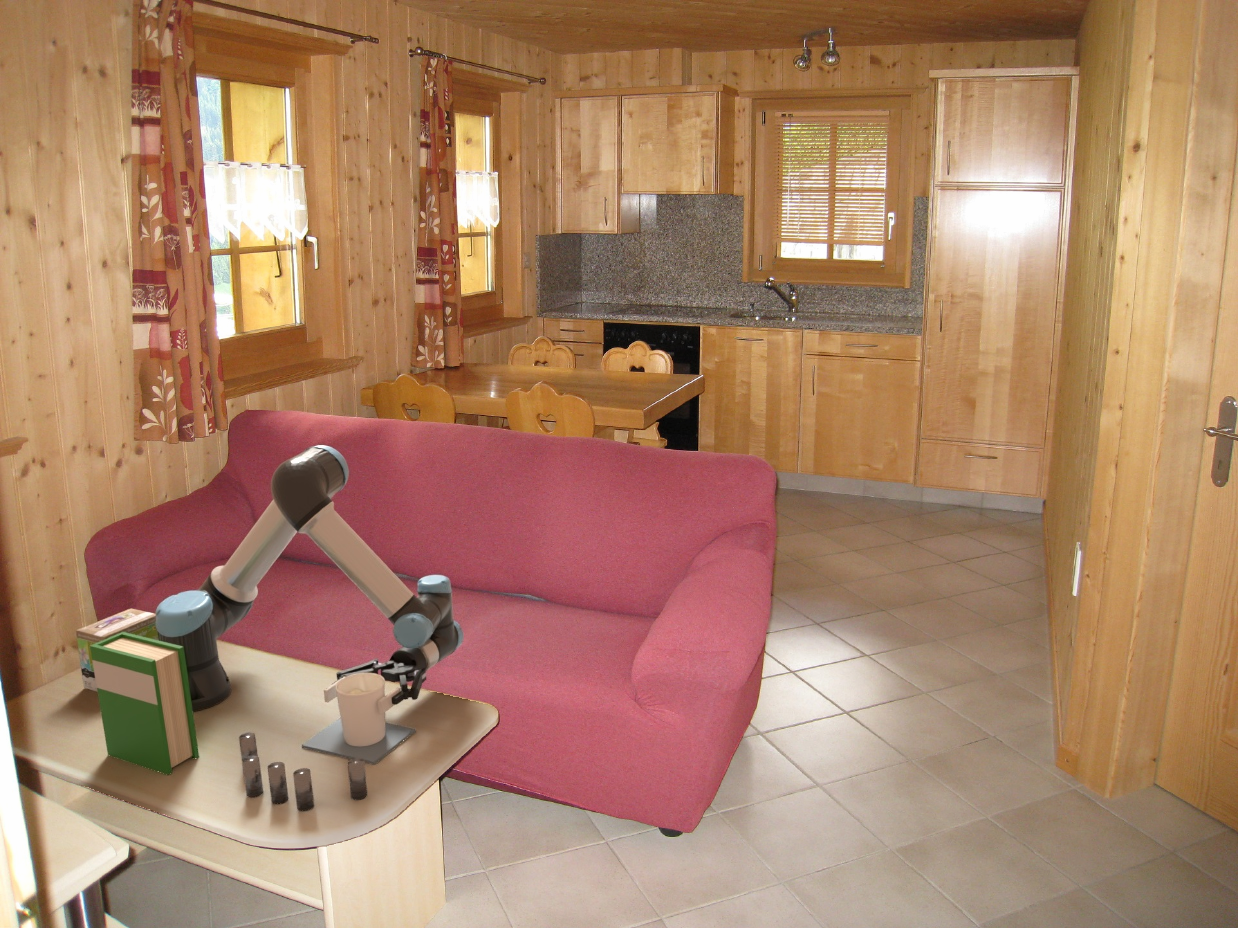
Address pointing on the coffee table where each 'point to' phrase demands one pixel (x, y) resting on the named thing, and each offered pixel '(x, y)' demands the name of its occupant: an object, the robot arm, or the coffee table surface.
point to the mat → (335, 744)
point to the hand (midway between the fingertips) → (352, 701)
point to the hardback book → (145, 701)
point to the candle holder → (361, 708)
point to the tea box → (106, 628)
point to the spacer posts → (300, 776)
